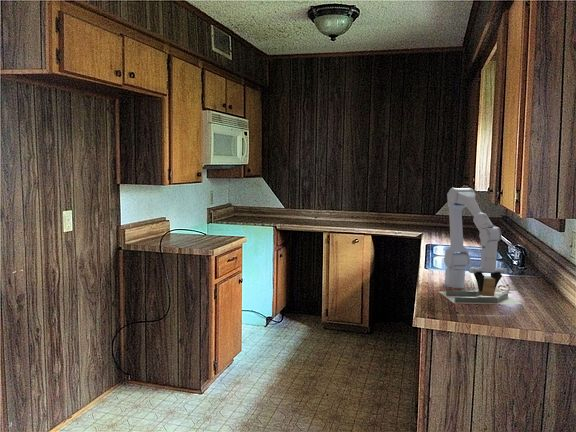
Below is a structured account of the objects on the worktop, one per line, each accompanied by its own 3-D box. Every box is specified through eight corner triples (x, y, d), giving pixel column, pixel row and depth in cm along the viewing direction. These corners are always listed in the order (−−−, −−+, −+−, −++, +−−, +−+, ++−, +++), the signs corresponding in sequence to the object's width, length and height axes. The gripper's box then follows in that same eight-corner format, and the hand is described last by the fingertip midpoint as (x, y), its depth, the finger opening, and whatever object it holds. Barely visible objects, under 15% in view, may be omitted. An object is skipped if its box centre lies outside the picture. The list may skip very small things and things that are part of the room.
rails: (441, 291, 210) (441, 287, 210) (499, 292, 211) (499, 287, 211) (455, 302, 194) (456, 297, 194) (518, 303, 195) (518, 298, 195)
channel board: (438, 292, 211) (438, 291, 211) (500, 293, 212) (501, 291, 212) (454, 304, 193) (454, 303, 193) (522, 305, 194) (522, 303, 194)
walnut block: (478, 293, 203) (479, 276, 202) (489, 293, 203) (490, 276, 202) (483, 296, 198) (484, 278, 198) (494, 296, 199) (495, 278, 198)
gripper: (474, 259, 195) (472, 293, 196) (511, 259, 195) (508, 293, 197) (467, 255, 202) (465, 288, 203) (503, 256, 202) (500, 289, 204)
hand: (486, 290), depth 201 cm, fingers closed on walnut block, 4 cm apart
